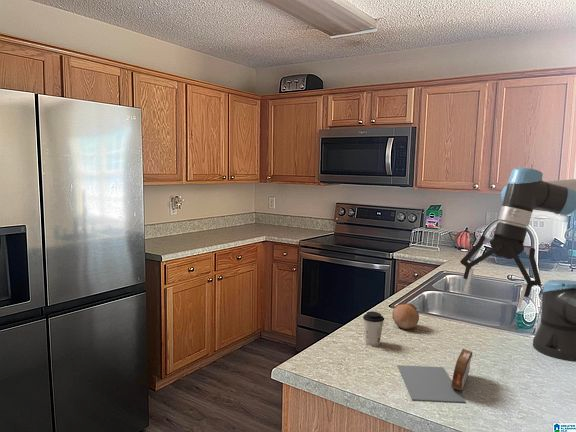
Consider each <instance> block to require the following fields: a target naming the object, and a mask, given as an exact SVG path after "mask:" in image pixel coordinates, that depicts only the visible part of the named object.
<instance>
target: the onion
mask: <svg viewBox="0 0 576 432" xmlns="http://www.w3.org/2000/svg"><path fill="white" fill-rule="evenodd" d="M391 318H392V320H393V322H394V323H395V325H396V326H397V327H398V328H400V329H403V330H407V329H408V330H413V329H414V328H416V327H417V325H418V324H419V322H420V321H419V320H420V315H419V311H418V308H417V307H416V306H415V305H414V304H413V303H411V302H407V303H402V304H397V305H396V306H395V307H394V308H393V310H392V317H391Z"/></svg>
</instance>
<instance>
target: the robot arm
mask: <svg viewBox="0 0 576 432" xmlns="http://www.w3.org/2000/svg"><path fill="white" fill-rule="evenodd" d="M543 174H544V173H543V172H542V171H540V170H538V169H534V168H530V167H521V166H519V167H514V168H513V169H512V171H511V172H510V175H509V179H508V181H507V184H506V185H505V186H503V189H502V190H501V193H500V194H501V195H500V197H501V198H500V199H501V201H502V205H501V208H500V212H499V215H498V219H497V220H499V222H497V223H496V227H495V229H494V232H493V237H492V238H489V237H486V236H485V235H481V236H480V237H479V240H478V241H477V243H475V245H474V246H473V247H472V248H471V250H470V251H469V252H467V254H466V255H464V257H462V259H461V260H460V264H461V265H463V266H464V267H465V270H464V274H463V279H465V280H466V281H465V282H466V283H465V286H464V290H463V292H466V293H467V292H469V289H470V285H471V283H472V279H473V274H474V272H475V269H474V268H473V267H474V266H476V265H477V264H479V263H481V262H482V261H484V260H485V259H487V258H489V257H491V256H492V255H496V256H497V257H501V258H505V259H507V260H512V259H513V260H514V262H515V264H516V266H517V267H518V269H519V270H520V273H521V275H522V276H523V278H524V280H525V283H523V286H522V289H521V293H520V297H519V299H518V304H517V309H520V310H521V307H522V303H523V300H524V298H529V297H530V295H531V291H532V288H533V286H541V285H542V282H541V281H542V280H541V278H540V274H539V269H538V266H537V262H536V257H535V255H536V249H535V248H534V247H525V246H524V243H525V240H526V236H527V232H528V230H527V228H526V227H529V225H530V222H531V219H532V214H533V211H534V210H535V211H540V212H548V213H553V214H554V215H563V216H567V215H569V216H570V215H571V214H572V213H574V212H575V211H576V178H573V179H572V178H571V179H560V180H545V181H544V180H543ZM488 243H489V244H490V246H491V249H489V250H488V251H486V252H485V253H483V254H481V255H480V256H478V257H476V258H475V259H473V260H472V261H470V262H469V260H470V259H471V258H472V257H473V256H474V255H476V253H477V252H478V251H479V250H480V249H481V247H482V246H483V245H487V244H488ZM523 252H525V254H526V256H529V258H528V259H529V262H530V266H531V271H532V273H533V280H532V278H531V277H530V275H529V273H528V271H527V270H526V268H525V266H524V264H523V262H522V261H521V258H520V257H519V255H520V254H521V253H523ZM540 313H541V314H540V323H539V326H538V329H537V331H536V332H535V335H534V337H533V339H532V348H534V349H535V350H536V351H537V352H538V353H541V354H543V355H547V356H549V357H553V358H556V359H561V360H567V361H576V280H570V279H550V280H546V281H545V283H544V284H543V290H542V301H541V312H540Z"/></svg>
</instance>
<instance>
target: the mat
mask: <svg viewBox="0 0 576 432" xmlns="http://www.w3.org/2000/svg"><path fill="white" fill-rule="evenodd" d="M397 369H398V370H399V373H400V376H401V377H402V380H403V383H404V385H405V386H406V387H405V388H406V390H407V392H408V393H409V396H410V399H411V401H416V402H417V401H419V402H420V401H422V402H439V403H442V402H443V403H463V404H466V401H465V399H464V398H463V396H462V394H461V393H460V390H457V389H455V388H451V384H452V378H451V377H450V376H449V375H448V373H447V371H446V370H445V369H444V367H443V366H428V365H427V366H426V365H425V366H424V365H403V364H402V365H401V364H397Z"/></svg>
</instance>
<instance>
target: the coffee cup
mask: <svg viewBox="0 0 576 432" xmlns="http://www.w3.org/2000/svg"><path fill="white" fill-rule="evenodd" d="M362 319H363V328H364V329H363V330H364V341H365V344H366V345H367V346H371V347H378V346H380V343H381V337H382V331H383V326H384V321H385V317H384V316H383V315H382V314H381V313H380V312H377V311H373V310H372V311H367V312H366V313H365V314H364V315H363V316H362Z"/></svg>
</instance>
